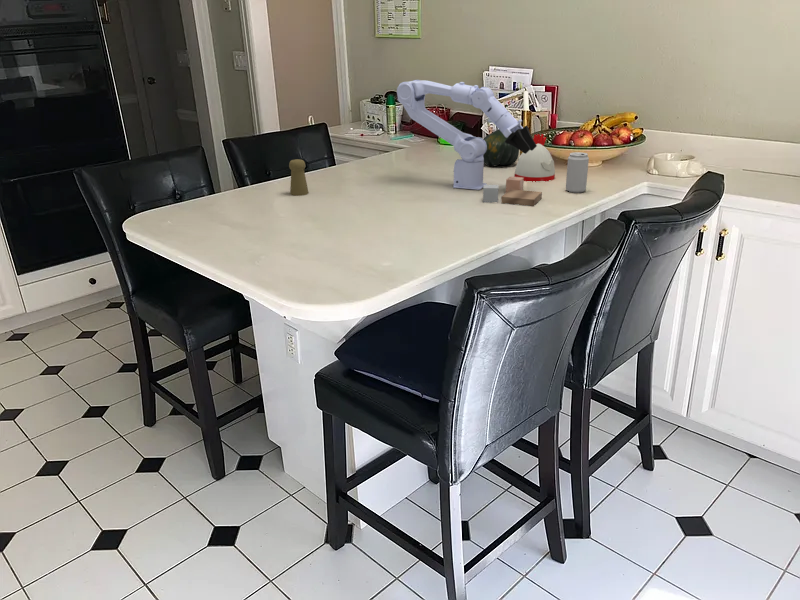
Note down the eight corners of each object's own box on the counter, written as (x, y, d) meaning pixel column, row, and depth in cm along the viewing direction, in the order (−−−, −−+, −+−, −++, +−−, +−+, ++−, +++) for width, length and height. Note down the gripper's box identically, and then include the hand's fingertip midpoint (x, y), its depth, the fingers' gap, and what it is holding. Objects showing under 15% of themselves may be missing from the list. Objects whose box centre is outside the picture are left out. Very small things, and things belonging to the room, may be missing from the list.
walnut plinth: (501, 203, 199) (501, 196, 198) (510, 195, 207) (510, 189, 206) (533, 206, 195) (534, 199, 194) (541, 198, 203) (541, 191, 202)
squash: (466, 150, 250) (490, 122, 240) (488, 146, 260) (511, 119, 250) (488, 178, 247) (513, 151, 237) (509, 173, 257) (534, 147, 247)
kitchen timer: (563, 178, 228) (566, 134, 222) (534, 184, 221) (537, 139, 215) (534, 171, 239) (536, 129, 233) (506, 177, 232) (508, 133, 226)
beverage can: (586, 193, 207) (590, 155, 203) (565, 193, 209) (568, 155, 204) (585, 189, 213) (588, 151, 208) (565, 188, 214) (568, 151, 210)
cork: (312, 192, 216) (309, 158, 211) (302, 196, 211) (299, 162, 206) (296, 190, 218) (294, 157, 214) (286, 194, 213) (283, 160, 209)
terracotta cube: (505, 193, 210) (506, 179, 208) (509, 190, 214) (510, 176, 212) (519, 194, 208) (520, 180, 207) (522, 191, 212) (523, 177, 210)
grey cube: (482, 202, 200) (483, 188, 198) (483, 198, 204) (483, 184, 202) (497, 202, 199) (498, 188, 198) (498, 199, 203) (498, 184, 202)
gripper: (503, 110, 197) (534, 143, 196) (517, 107, 209) (546, 138, 209) (488, 127, 201) (518, 159, 200) (502, 123, 213) (530, 153, 212)
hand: (531, 149), depth 205 cm, fingers open, 7 cm apart
